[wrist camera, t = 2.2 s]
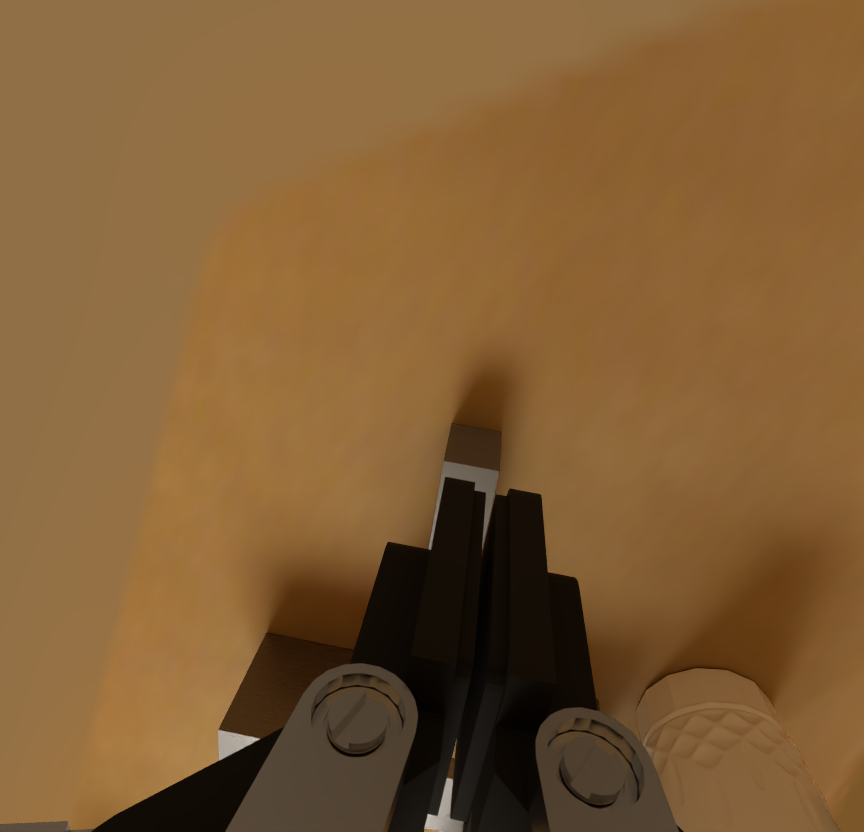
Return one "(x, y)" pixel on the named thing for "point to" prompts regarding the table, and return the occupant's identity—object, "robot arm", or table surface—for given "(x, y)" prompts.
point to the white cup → (727, 757)
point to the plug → (472, 464)
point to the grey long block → (294, 702)
